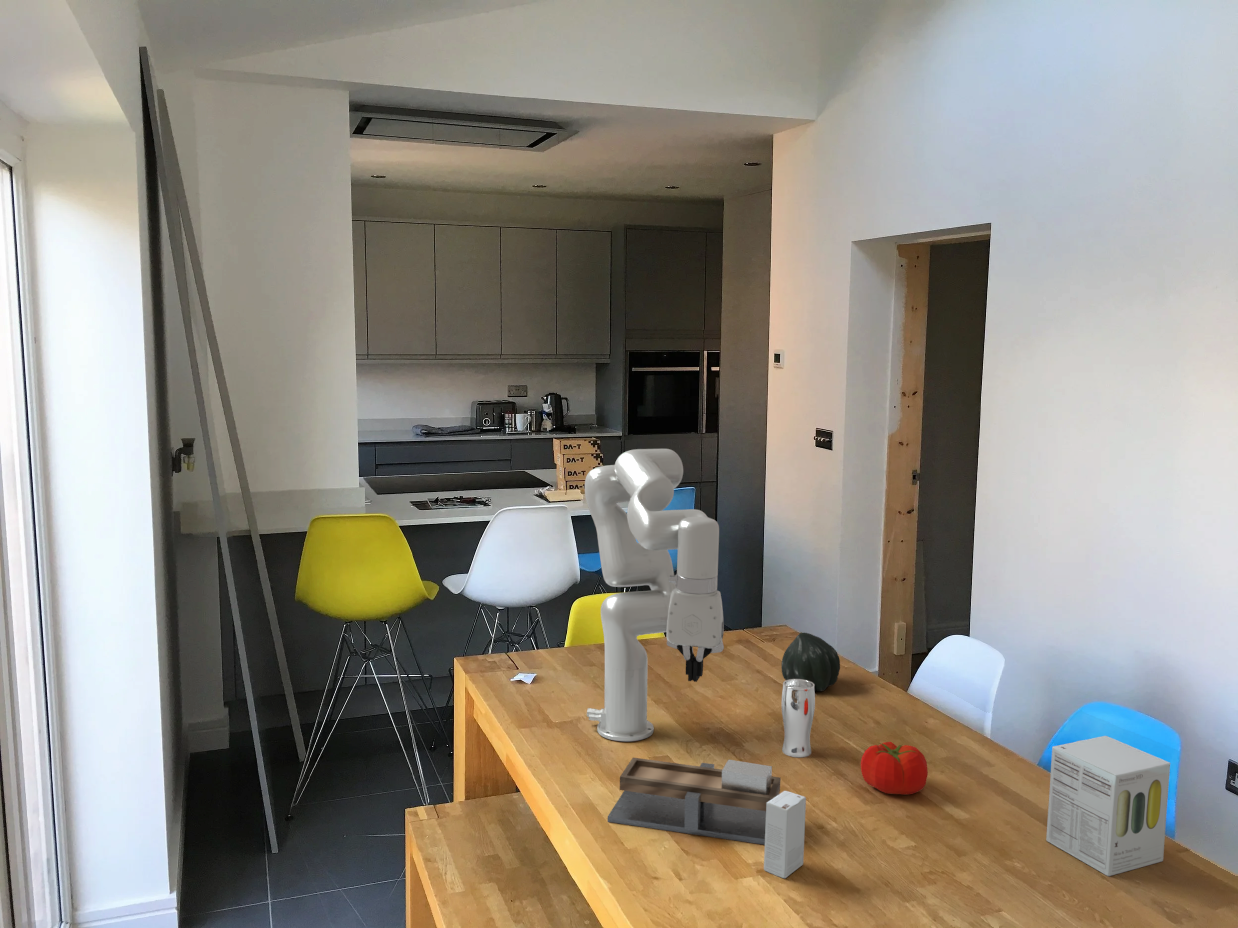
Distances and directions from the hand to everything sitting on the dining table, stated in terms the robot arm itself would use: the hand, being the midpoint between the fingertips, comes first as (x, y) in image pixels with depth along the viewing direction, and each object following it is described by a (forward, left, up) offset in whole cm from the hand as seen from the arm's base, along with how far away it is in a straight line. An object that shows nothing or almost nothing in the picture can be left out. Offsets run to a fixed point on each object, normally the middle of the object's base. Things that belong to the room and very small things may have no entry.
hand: (694, 678), depth 184 cm
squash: (+16, +71, -24) cm, 77 cm away
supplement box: (+72, +1, -24) cm, 76 cm away
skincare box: (+20, -21, -24) cm, 37 cm away
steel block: (+11, -7, -17) cm, 22 cm away
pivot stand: (+3, -7, -24) cm, 25 cm away
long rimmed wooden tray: (+3, -7, -19) cm, 20 cm away
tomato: (+37, +16, -24) cm, 47 cm away
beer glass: (+17, +28, -24) cm, 41 cm away
